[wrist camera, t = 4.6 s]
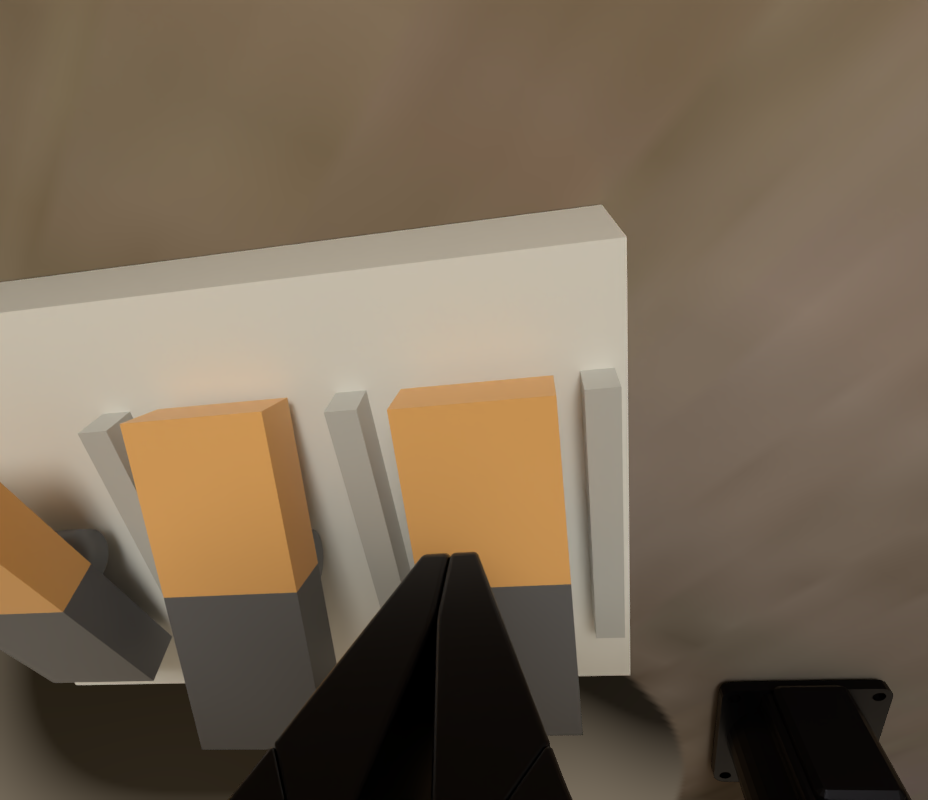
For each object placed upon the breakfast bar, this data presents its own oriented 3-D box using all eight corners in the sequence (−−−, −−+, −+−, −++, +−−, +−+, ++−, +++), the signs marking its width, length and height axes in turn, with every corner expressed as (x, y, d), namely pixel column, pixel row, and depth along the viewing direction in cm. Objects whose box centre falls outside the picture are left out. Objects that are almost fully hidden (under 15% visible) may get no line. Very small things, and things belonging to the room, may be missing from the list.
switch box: (612, 587, 22) (636, 710, 18) (141, 605, 25) (60, 715, 20) (601, 204, 15) (635, 248, 11) (-36, 287, 18) (-212, 348, 14)
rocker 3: (575, 662, 16) (582, 735, 14) (455, 664, 17) (445, 735, 15) (551, 363, 14) (556, 395, 11) (409, 376, 14) (386, 410, 12)
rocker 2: (355, 683, 17) (327, 749, 15) (245, 685, 17) (201, 749, 15) (303, 389, 15) (261, 411, 13) (181, 400, 16) (119, 423, 13)
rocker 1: (184, 607, 19) (153, 680, 18) (92, 611, 20) (53, 682, 18) (0, 424, 13) (-74, 507, 12) (-125, 436, 14) (-214, 518, 12)
